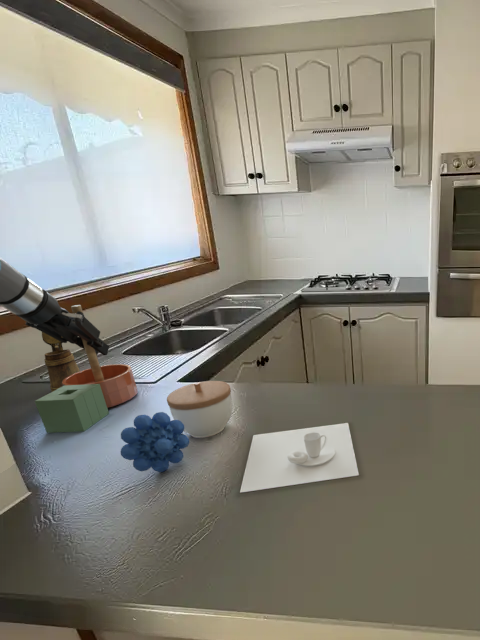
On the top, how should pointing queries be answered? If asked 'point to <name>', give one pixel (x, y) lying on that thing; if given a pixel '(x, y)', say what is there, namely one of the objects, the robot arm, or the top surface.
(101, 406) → the stick stand
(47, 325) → the robot arm
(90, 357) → the stick
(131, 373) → the mixing bowl
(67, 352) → the wooden barrel with disc
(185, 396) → the lidded bowl
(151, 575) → the top surface
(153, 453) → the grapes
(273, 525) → the top surface
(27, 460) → the top surface
